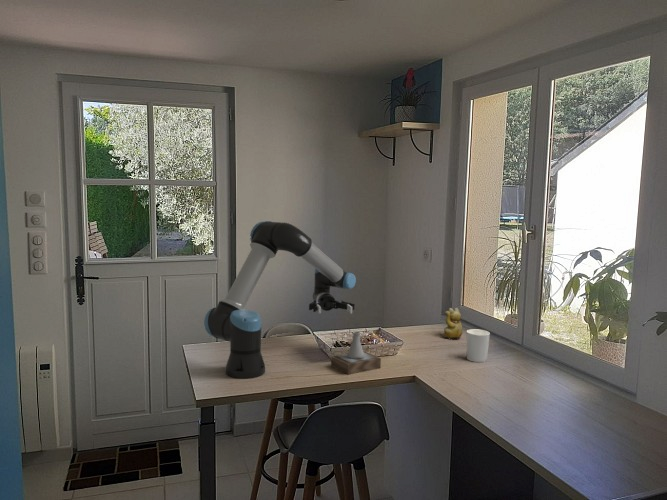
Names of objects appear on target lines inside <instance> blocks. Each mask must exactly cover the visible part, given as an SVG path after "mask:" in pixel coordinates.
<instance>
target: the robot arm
mask: <svg viewBox="0 0 667 500" xmlns="http://www.w3.org/2000/svg"><path fill="white" fill-rule="evenodd" d="M249 234H250V235H249V236H250V239H249V240H250V242H249V244H250V245H249V246H250V251H249V253H248V255H247V257H246V259H245V261H244V263H243V264H242V266H241V268H240V271H239V272H238V274H237V276H236V278H235V279H234V282H233V283H232V285H231V286H230V288H229V291H228V292H227V294H226V296H225V298H224V299H221V300H219V302H218V304H217V305H216V307H212V308H211V309H209V310H208V311H207V313H206V314H205V316H204V320H203V322H204V329H205V331H206V333H207V334H208V335H210V336H212V337H213V338H215V339H218V340H224V341H226V342H229V343H230V344H229V345H230V347H229V348H230V351H229V355H228V358H227V362H226V364H225V374H226V376H228V377H231V378H234V379H235V378H236V379H253V378H257V377H260V376H263V375H264V374H265V373H266V364H265V361H264V358H263V355H262V325H263V324H262V317H261V315H260V314H259V313H257V312H256V311H254V310H250V309H249V310H247V309H245V308H246V305H247V303H248V301H249V299H251V298H250V297H251V296H252V294H253V292H254V290H255V288H256V286H257V284H258V283H259V280H260V278H261V276H262V275H263V273H264V270H265V268H266V267H267V264H268V263H269V261H270V259H273V258H275V257H276V255H277V253H278V251H285V252H287V253H288V252H289V253H291V254H294V256H296V257H298V258H299V257H301V258H302V259H303V260H304V261H306V262H307V263H308V264H309V265H310V266H312V267H313V269H315V270H314V287H313V292H312V299H313V301H312V302H310V303H309V304H308V310H309V311H313V313H318V314H321V313H322V311H326V312H329V311H331V310H333V309H334V310H338V309H341V310H346V312H348V313H349V314H353V311H354V310H355V303H351V302H348V301H344V300H340V301H339V300H336V299H335V297H334V296H333V295H332V294H331V287H332V288H338V289H343V290H351V289H353V288H354V287H355V285H356V283H357V279H356V276H355V274H353V273H352V272H347V271H345V270H344V269H343V268H342V267H340V265H338V264H337V262H335V261H334V260H333V259H332V258H330V257H329V256H328V255H327V254H325V252H323V251H322V250H321V249H320V248H319V247H318V246H317V245H316V244H314V243H313V239H312V238H311V237H310V236H309V235H308V234H306V232H304V231H302V230H301V229H300V228H299V227H297V226H295V225H293V224H291V223H289V222H281V221H279V222H277V221H271V220H266V221H265V220H264V221H260V222H258V223H256V224H255V225H254V226H253V227H252V229H251V231H250V233H249Z"/></svg>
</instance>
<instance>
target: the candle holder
mask: <svg viewBox="0 0 667 500" xmlns="http://www.w3.org/2000/svg"><path fill="white" fill-rule="evenodd" d="M490 336H491V333H490V331H487V330H485V329H480V328H479V329H476V328H474V329H472V328H471V329H467V330H466V359H467V360H468V361H471V362H475V363H484V362H487V360H488V354H489V353H488V352H489V344H490Z"/></svg>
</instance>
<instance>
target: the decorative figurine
mask: <svg viewBox="0 0 667 500" xmlns="http://www.w3.org/2000/svg"><path fill="white" fill-rule="evenodd" d="M444 314H445V315H446V318H445V323H446V325H447V327H445V328H444V329H443V337H445V338H446V337H448V338H447V339H449V338H450V339H449V340H451V339H453V340H458V339H457V338H459V339H460V338H461V337H462V335H463V326H462V323H461V319H462V314H461V313H460V310H459V308H458V307H455V308H454V309H453V308H452V307H449V308H448V310H446V311H444Z"/></svg>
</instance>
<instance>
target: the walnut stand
mask: <svg viewBox="0 0 667 500" xmlns="http://www.w3.org/2000/svg"><path fill="white" fill-rule="evenodd" d="M363 352H364V355H365V357H364V358H360V359H354V358H349V357H348V356H347V354H348V353H343V354H337V355H331V356H330V366H331V368H332V367H333V368H334V369H335V370H338V371H340V372H341V373H344V374H346V375H352V374H358V373H362V372H363V373H364V372H367V371H373V370H377V369H381V366H382V365H381V362H382V361H381V360H382V359H381V358H380V357H379V356H376V355H374V354H371V353H369V352H367V351H364V350H363Z"/></svg>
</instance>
